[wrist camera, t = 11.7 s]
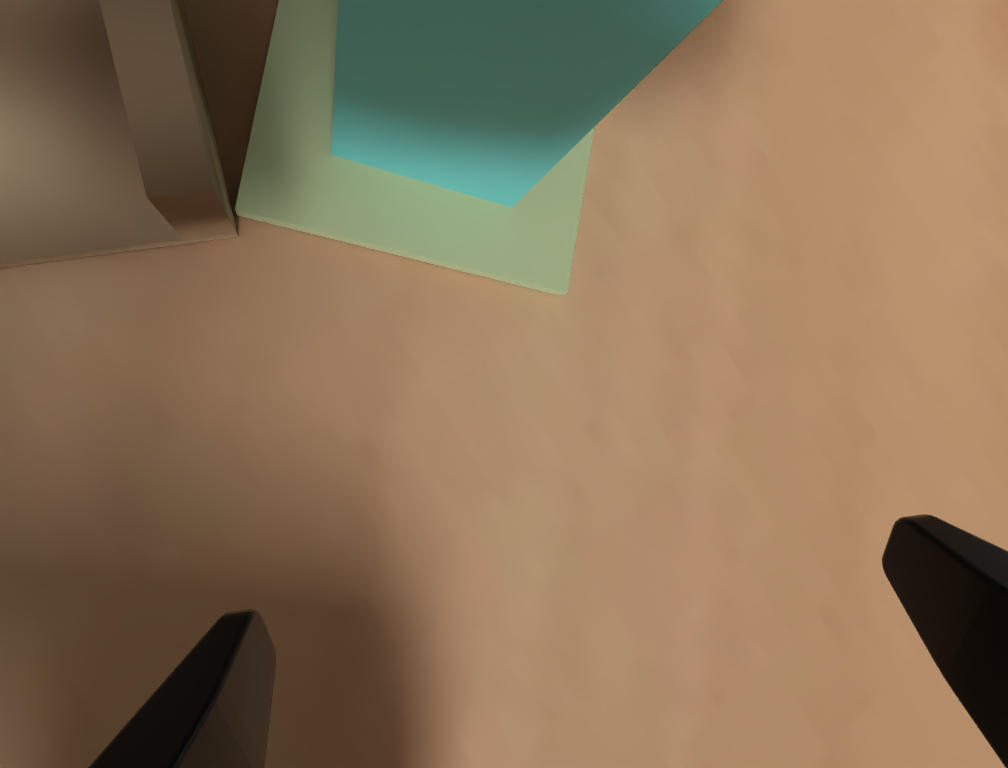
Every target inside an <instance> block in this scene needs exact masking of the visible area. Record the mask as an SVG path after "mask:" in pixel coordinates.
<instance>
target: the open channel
mask: <svg viewBox="0 0 1008 768" xmlns="http://www.w3.org/2000/svg"><path fill="white" fill-rule="evenodd" d="M232 237H238V234H237V230H236V225H235V221H234V217H233V213H232V208H231V204H230V200H229V196H228V191H227V187H226V183H225V179H224V174H223V170H222V166H221V162H220V157H219V153H218V149H217V145H216V140H215V136H214V132H213V128H212V123H211V119H210V115H209V111H208V106H207V102H206V98H205V94H204V89H203V85H202V81H201V77H200V72H199V68H198V64H197V60H196V56H195V51H194V47H193V43H192V39H191V34H190V30H189V26H188V22H187V17H186V13H185V9H184V5H183V0H0V268H5V267H13V266H20V265H28V264H36V263H43V262H51V261H58V260H66V259H73V258H81V257H89V256H96V255H104V254H111V253H119V252H126V251H134V250H142V249H149V248H157V247H164V246H172V245H179V244H187V243H195V242H202V241H210V240H217V239H225V238H232Z"/></svg>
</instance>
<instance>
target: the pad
mask: <svg viewBox="0 0 1008 768" xmlns="http://www.w3.org/2000/svg"><path fill="white" fill-rule="evenodd" d="M337 15H338V0H279V2H278V7H277V11H276V16H275V21H274V26H273V30H272V35H271V40H270V45H269V49H268V54H267V59H266V64H265V68H264V73H263V78H262V83H261V87H260V92H259V97H258V101H257V106H256V111H255V116H254V120H253V125H252V130H251V135H250V139H249V144H248V149H247V154H246V158H245V163H244V168H243V173H242V177H241V182H240V187H239V192H238V196H237V201H236V206H235V211H236V213H237V215H238V216H242V217H246V218H250V219H254V220H258V221H262V222H266V223H270V224H274V225H278V226H282V227H286V228H290V229H294V230H298V231H302V232H306V233H310V234H314V235H318V236H322V237H326V238H330V239H334V240H338V241H342V242H346V243H350V244H354V245H358V246H362V247H366V248H370V249H374V250H378V251H382V252H386V253H390V254H394V255H398V256H402V257H406V258H410V259H414V260H418V261H422V262H426V263H430V264H434V265H438V266H443V267H447V268H451V269H455V270H459V271H463V272H467V273H471V274H475V275H479V276H483V277H487V278H491V279H495V280H499V281H503V282H507V283H511V284H515V285H519V286H523V287H527V288H531V289H535V290H539V291H543V292H547V293H551V294H555V295H559V296H561V295H564V294H566V293H567V291H568V285H569V279H570V273H571V267H572V261H573V255H574V249H575V243H576V237H577V231H578V225H579V218H580V212H581V206H582V200H583V194H584V188H585V182H586V176H587V170H588V164H589V158H590V152H591V146H592V139H593V133H594V128H593V129H591V130H590V131H589V132H588V133H587V134H586V135H585V136H584V137H583V138H582V139H581V140H580V141H579V142H578V143H577V144H576V145H575V146H574V147H573V148H572V149H571V150H570V151H569V152H568V153H567V154H566V155H565V156H564V157H563V158H562V159H561V160H560V161H559V162H558V163H557V164H556V165H555V166H554V167H553V168H552V169H551V170H550V171H549V172H548V173H547V174H546V175H545V176H544V177H543V178H542V179H541V180H540V181H539V182H538V183H537V184H536V185H535V186H534V187H533V188H532V189H531V190H530V191H528V192H527V193H526V194H525V195H524V196H523V197H522V198H521V199H520V200H519V201H518V202H517V203H516V204H515V205H514V206H513V207H508V206H505V205H502V204H498V203H495V202H491V201H488V200H484V199H481V198H478V197H474V196H471V195H467V194H464V193H460V192H457V191H454V190H450V189H447V188H443V187H440V186H437V185H433V184H430V183H426V182H423V181H419V180H416V179H413V178H409V177H406V176H402V175H399V174H395V173H392V172H389V171H385V170H382V169H378V168H375V167H371V166H368V165H365V164H361V163H358V162H354V161H351V160H348V159H344V158H341V157H337V156H334V155H331V142H332V121H333V100H334V78H335V57H336V36H337Z"/></svg>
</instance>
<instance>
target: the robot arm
mask: <svg viewBox="0 0 1008 768" xmlns="http://www.w3.org/2000/svg"><path fill="white" fill-rule="evenodd" d="M882 565H883V569H884V572H885V575H886V577H887V578H888V580H889V582H890V584H891V586H892V587H893V589H894V591H895V593H896V594H897V596H898V598H899V600H900V602H901V603H902V605H903V607H904V609H905V610H906V612H907V614H908V616H909V617H910V619H911V621H912V623H913V625H914V626H915V628H916V630H917V632H918V633H919V635H920V637H921V639H922V640H923V642H924V644H925V646H926V648H927V649H928V651H929V653H930V655H931V656H932V658H933V660H934V662H935V663H936V665H937V667H938V668H939V670H940V672H941V673H942V675H943V677H944V678H945V680H946V681H947V683H948V684H949V686H950V687H951V689H952V690H953V692H954V693H955V695H956V696H957V698H958V699H959V701H960V702H961V703H962V705H963V706H964V708H965V709H966V711H967V712H968V714H969V715H970V717H971V718H972V719H973V721H974V722H975V724H976V725H977V727H978V728H979V730H980V731H981V732H982V734H983V735H984V737H985V738H986V740H987V741H988V743H989V744H990V746H991V747H992V748H993V750H994V751H995V753H996V754H997V756H998V757H999V759H1000V760H1001V761H1002V763H1003V764H1004V766H1005V767H1006V768H1008V551H1006V550H1004V549H1002V548H1000V547H998V546H996V545H993V544H991V543H989V542H987V541H985V540H983V539H981V538H979V537H977V536H975V535H972V534H970V533H968V532H966V531H964V530H962V529H960V528H958V527H956V526H953V525H951V524H949V523H947V522H945V521H943V520H941V519H939V518H936V517H934V516H931V515H915V516H908V517H902V518H899V519H898V520H897V521H896V522H895V524H894V525H893V528H892V531H891V534H890V537H889V540H888V542H887V545H886V548H885V551H884V554H883V557H882ZM275 666H276V653H275V648H274V645H273V642H272V640H271V638H270V635H269V633H268V631H267V628H266V626H265V624H264V621H263V619H262V617H261V615H260V613H259V612H258V611H257V610H255V609H248V610H241V611H234V612H229V613H226V614H224V615H223V616H222V617H220V618H219V619H218V620H217V622H216V623H215V624H214V625H213V626H212V627H211V628H210V630H209V631H208V632H207V633H206V634H205V635H204V636H203V638H202V639H201V640H200V641H199V642H198V643H197V644H196V646H195V647H194V648H193V649H192V650H191V651H190V652H189V653H188V655H187V656H186V657H185V658H184V659H183V660H182V661H181V663H180V664H179V665H178V666H177V667H176V668H175V669H174V671H173V672H172V673H171V674H170V675H169V676H168V677H167V679H166V680H165V681H164V682H163V683H162V684H161V685H160V687H159V688H158V689H157V690H156V691H155V692H154V693H153V695H152V696H151V697H150V698H149V699H148V700H147V701H146V703H145V704H144V705H143V706H142V707H141V708H140V709H139V710H138V712H137V713H136V714H135V715H134V716H133V717H132V718H131V720H130V721H129V722H128V723H127V724H126V725H125V726H124V728H123V729H122V730H121V731H120V732H119V733H118V734H117V736H116V737H115V738H114V739H113V740H112V741H111V742H110V744H109V745H108V746H107V747H106V748H105V749H104V750H103V752H102V753H101V754H100V755H99V756H98V757H97V758H96V759H95V761H94V762H93V763H92V764H91V765H90V766H89V767H88V768H264V765H265V756H266V747H267V738H268V729H269V720H270V711H271V702H272V693H273V684H274V675H275Z"/></svg>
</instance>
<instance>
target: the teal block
mask: <svg viewBox="0 0 1008 768" xmlns="http://www.w3.org/2000/svg"><path fill="white" fill-rule="evenodd" d="M722 1H723V0H338V15H337V36H336V57H335V78H334V100H333V121H332V142H331V155H334V156H337V157H341V158H344V159H348V160H351V161H354V162H358V163H361V164H365V165H368V166H371V167H375V168H378V169H382V170H385V171H389V172H392V173H395V174H399V175H402V176H406V177H409V178H413V179H416V180H419V181H423V182H426V183H430V184H433V185H437V186H440V187H443V188H447V189H450V190H454V191H457V192H460V193H464V194H467V195H471V196H474V197H478V198H481V199H484V200H488V201H491V202H495V203H498V204H502V205H505V206H508V207H513V206H514V205H515V204H516V203H517V202H518V201H519V200H520V199H521V198H522V197H523V196H524V195H525V194H526V193H527V192H528V191H530V190H531V189H532V188H533V187H534V186H535V185H536V184H537V183H538V182H539V181H540V180H541V179H542V178H543V177H544V176H545V175H546V174H547V173H548V172H549V171H550V170H551V169H552V168H553V167H554V166H555V165H556V164H557V163H558V162H559V161H560V160H561V159H562V158H563V157H564V156H565V155H566V154H567V153H568V152H569V151H570V150H571V149H572V148H573V147H574V146H575V145H576V144H577V143H578V142H579V141H580V140H581V139H582V138H583V137H584V136H585V135H586V134H587V133H588V132H589V131H590V130H591V129H593V128H594V127H595V126H596V125H597V124H598V123H599V122H600V121H601V120H602V119H603V118H604V117H605V116H606V115H607V114H608V113H609V112H610V111H611V110H612V109H613V108H614V107H615V106H616V105H617V104H618V103H619V102H620V101H621V100H622V99H623V98H624V97H625V96H626V95H627V94H628V93H629V92H630V91H631V90H632V89H633V88H634V87H635V86H636V85H637V84H638V83H639V82H640V81H641V80H642V79H643V78H644V77H645V76H646V75H647V74H648V73H649V72H650V71H651V70H652V69H653V68H655V67H656V66H657V65H658V64H659V63H660V62H661V61H662V60H663V59H664V58H665V57H666V56H667V55H668V54H669V53H670V52H671V51H672V50H673V49H674V48H675V47H676V46H677V45H678V44H679V43H680V42H681V41H682V40H683V39H684V38H685V37H686V36H687V35H688V34H689V33H690V32H691V31H692V30H693V29H694V28H695V27H696V26H697V25H698V24H699V23H700V22H701V21H702V20H703V19H704V18H705V17H706V16H707V15H708V14H709V13H710V12H711V11H712V10H713V9H714V8H715V7H716V6H718V5H719V4H720V3H721V2H722Z"/></svg>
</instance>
